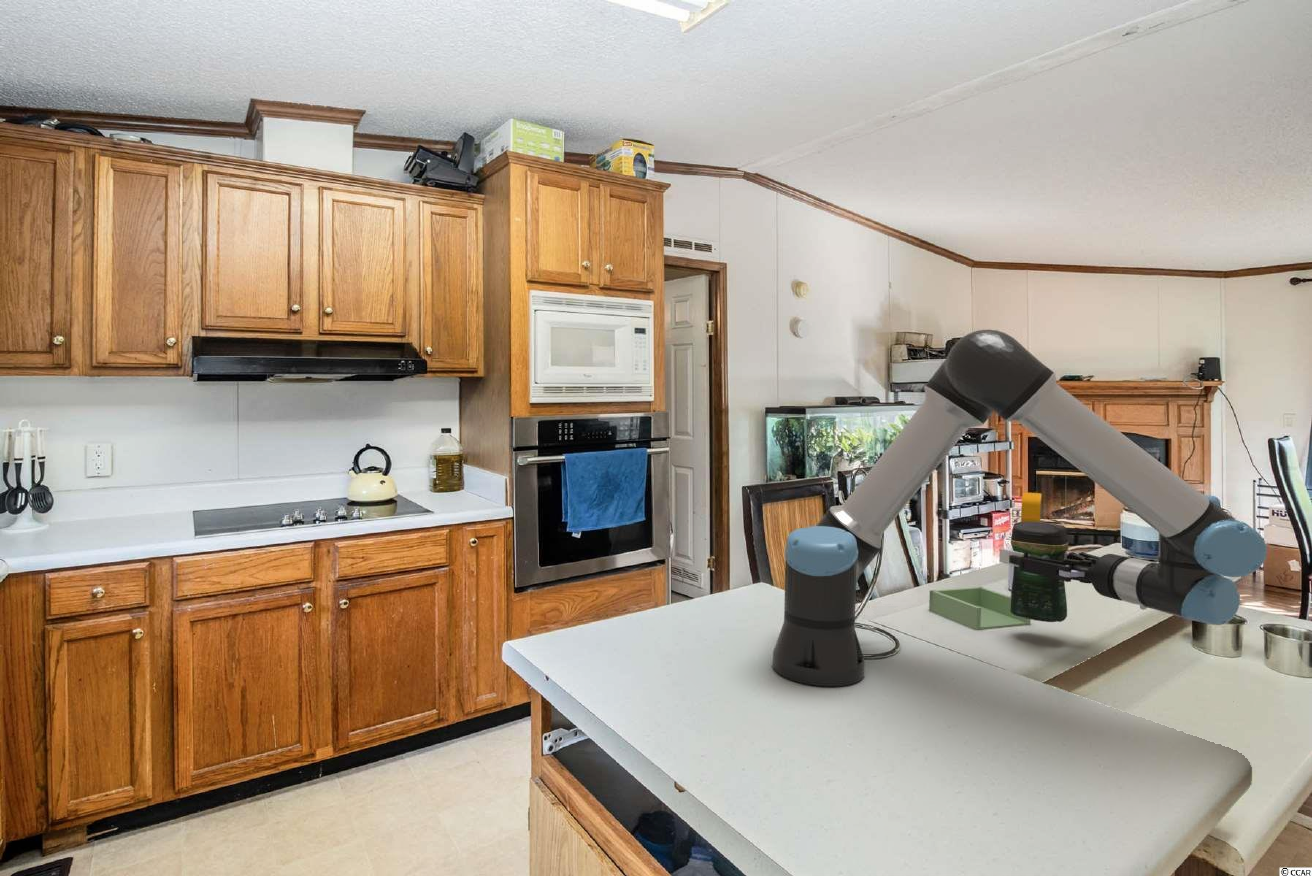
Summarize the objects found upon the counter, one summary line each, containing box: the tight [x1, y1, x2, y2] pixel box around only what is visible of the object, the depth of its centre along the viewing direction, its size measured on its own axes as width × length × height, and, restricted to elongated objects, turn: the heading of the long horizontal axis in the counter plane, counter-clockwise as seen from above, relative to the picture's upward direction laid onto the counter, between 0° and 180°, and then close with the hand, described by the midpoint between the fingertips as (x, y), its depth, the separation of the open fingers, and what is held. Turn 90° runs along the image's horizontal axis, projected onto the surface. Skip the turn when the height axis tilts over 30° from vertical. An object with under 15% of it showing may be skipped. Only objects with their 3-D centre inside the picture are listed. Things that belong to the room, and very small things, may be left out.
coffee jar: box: [1010, 521, 1069, 623], centre depth 134 cm, size 10×8×19 cm
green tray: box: [928, 586, 1031, 631], centre depth 148 cm, size 14×14×4 cm
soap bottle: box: [1007, 492, 1043, 591], centre depth 171 cm, size 9×9×25 cm
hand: (1019, 553), depth 138 cm, fingers closed on coffee jar, 9 cm apart
